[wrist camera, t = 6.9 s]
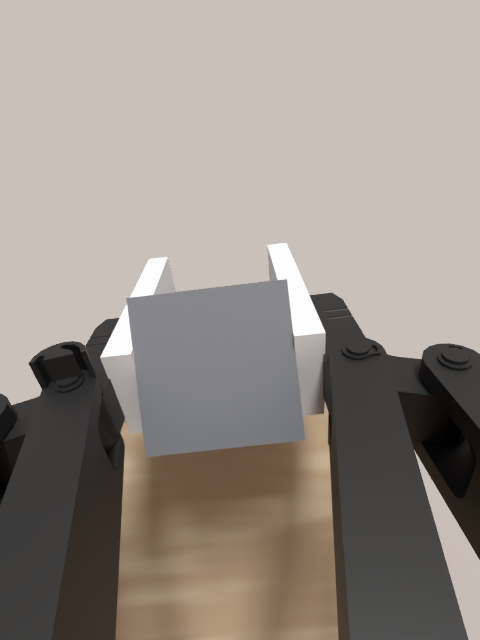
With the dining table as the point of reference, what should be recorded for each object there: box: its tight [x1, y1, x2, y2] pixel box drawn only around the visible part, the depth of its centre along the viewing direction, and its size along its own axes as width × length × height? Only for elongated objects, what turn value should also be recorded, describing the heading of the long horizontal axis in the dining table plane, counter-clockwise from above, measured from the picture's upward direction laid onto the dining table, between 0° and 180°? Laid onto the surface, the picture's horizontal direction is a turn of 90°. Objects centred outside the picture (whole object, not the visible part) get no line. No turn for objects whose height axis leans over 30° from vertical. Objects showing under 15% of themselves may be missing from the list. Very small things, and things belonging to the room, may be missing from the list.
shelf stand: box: [115, 403, 339, 640], centre depth 25 cm, size 14×16×41 cm
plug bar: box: [127, 279, 305, 457], centre depth 22 cm, size 27×4×4 cm, turn 178°
